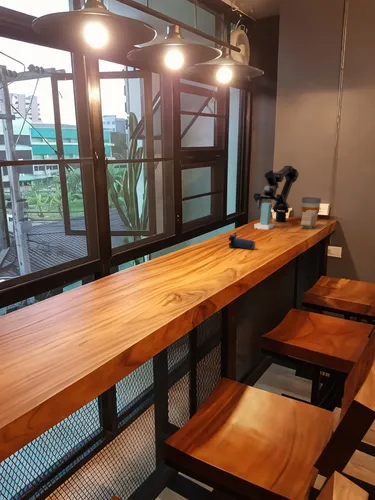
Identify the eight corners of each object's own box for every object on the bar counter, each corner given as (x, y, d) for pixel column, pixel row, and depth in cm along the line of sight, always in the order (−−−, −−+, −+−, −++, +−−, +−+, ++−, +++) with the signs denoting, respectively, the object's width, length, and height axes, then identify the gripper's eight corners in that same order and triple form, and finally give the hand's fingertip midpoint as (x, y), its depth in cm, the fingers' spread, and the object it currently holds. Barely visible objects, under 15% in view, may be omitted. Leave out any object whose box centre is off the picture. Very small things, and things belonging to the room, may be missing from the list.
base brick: (259, 226, 249) (260, 222, 248) (273, 228, 244) (273, 223, 244) (254, 229, 242) (254, 224, 241) (268, 230, 237) (268, 225, 236)
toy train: (300, 229, 238) (301, 212, 236) (307, 224, 253) (308, 209, 250) (309, 230, 236) (310, 213, 233) (316, 225, 250) (317, 210, 248)
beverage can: (227, 251, 191) (251, 255, 185) (227, 236, 187) (251, 240, 182) (234, 244, 198) (257, 247, 192) (234, 229, 195) (258, 233, 189)
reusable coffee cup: (317, 218, 277) (319, 197, 273) (320, 221, 265) (322, 199, 261) (299, 218, 279) (300, 197, 275) (301, 221, 267) (302, 198, 263)
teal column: (262, 222, 245) (264, 202, 241) (269, 223, 243) (271, 203, 239) (259, 223, 241) (261, 203, 237) (267, 224, 239) (269, 204, 235)
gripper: (255, 180, 246) (247, 199, 239) (284, 181, 236) (277, 201, 230) (259, 191, 254) (252, 211, 248) (287, 193, 245) (281, 213, 238)
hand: (265, 208), depth 241 cm, fingers open, 9 cm apart
